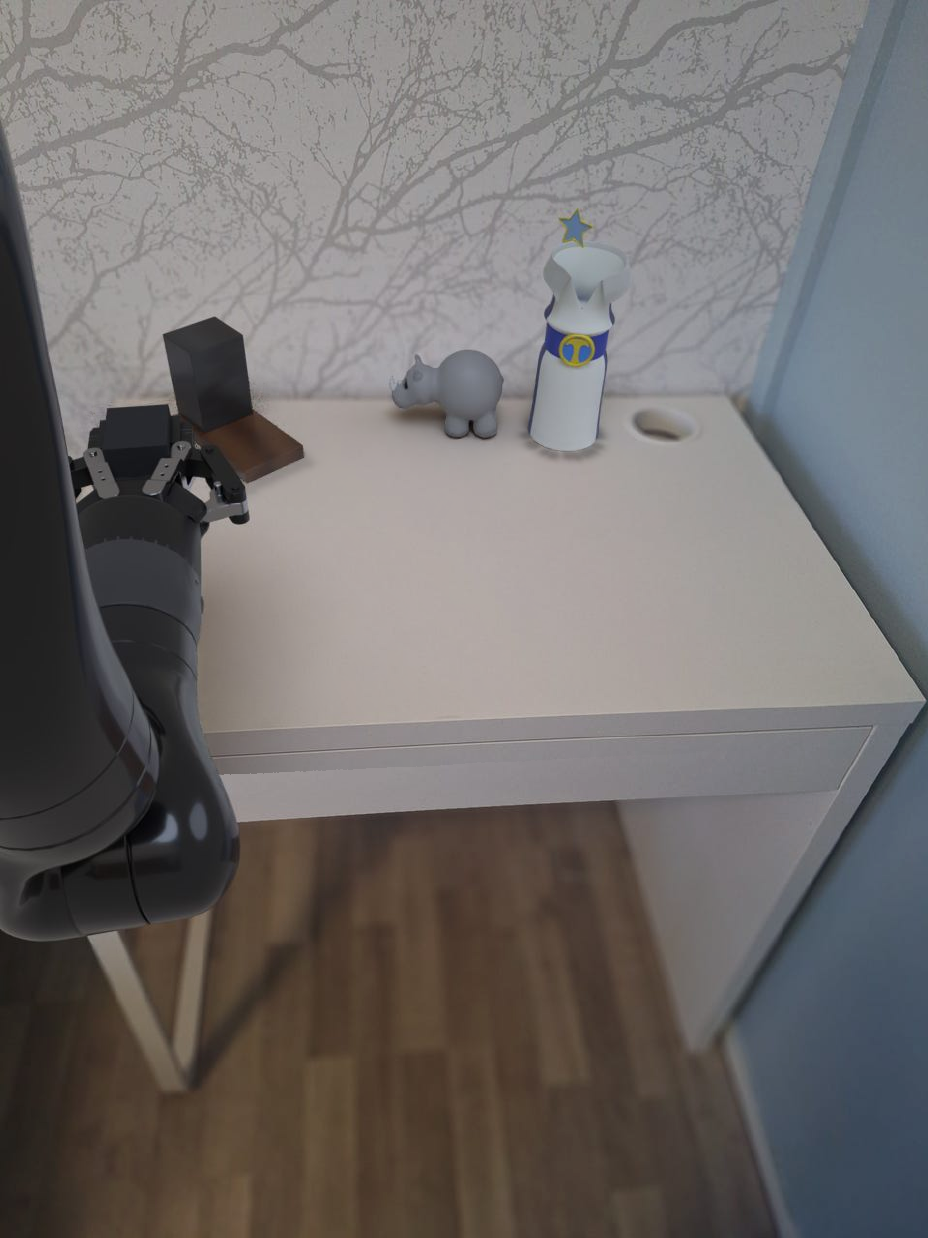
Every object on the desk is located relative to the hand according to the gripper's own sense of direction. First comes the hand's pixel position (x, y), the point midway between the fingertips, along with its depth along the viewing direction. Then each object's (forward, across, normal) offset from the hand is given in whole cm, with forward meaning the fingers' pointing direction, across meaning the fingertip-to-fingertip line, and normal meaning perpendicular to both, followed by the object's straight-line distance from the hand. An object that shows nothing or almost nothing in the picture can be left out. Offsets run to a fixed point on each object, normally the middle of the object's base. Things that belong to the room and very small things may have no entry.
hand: (143, 429), depth 63 cm
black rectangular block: (-3, 0, +7) cm, 8 cm away
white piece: (+24, -40, +19) cm, 50 cm away
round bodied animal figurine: (+27, -27, +19) cm, 43 cm away
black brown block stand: (+27, -5, +19) cm, 33 cm away
